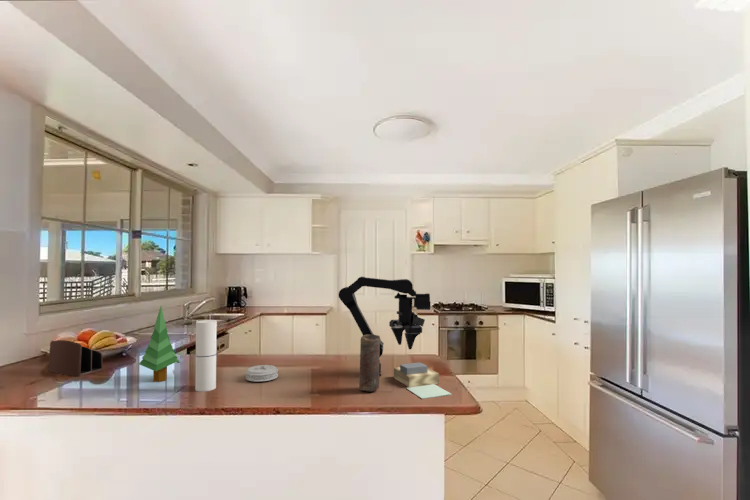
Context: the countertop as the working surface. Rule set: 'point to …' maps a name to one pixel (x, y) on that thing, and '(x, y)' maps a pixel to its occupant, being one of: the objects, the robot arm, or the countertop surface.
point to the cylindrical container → (205, 355)
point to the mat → (428, 391)
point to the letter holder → (73, 359)
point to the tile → (413, 368)
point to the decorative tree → (159, 351)
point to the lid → (261, 373)
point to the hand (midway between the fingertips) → (404, 346)
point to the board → (417, 378)
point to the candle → (369, 362)
